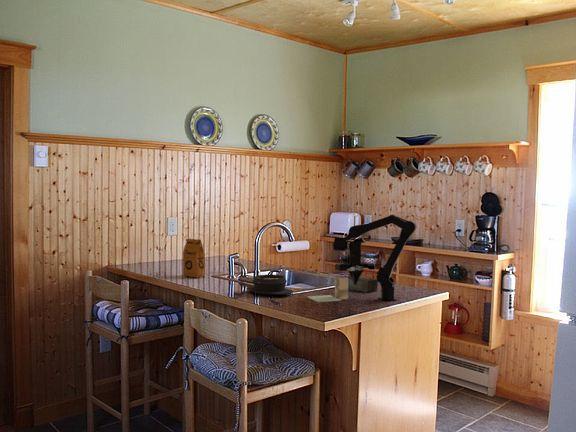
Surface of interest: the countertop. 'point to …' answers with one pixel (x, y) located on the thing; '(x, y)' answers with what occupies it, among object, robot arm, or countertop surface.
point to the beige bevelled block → (341, 287)
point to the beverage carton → (363, 284)
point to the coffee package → (193, 258)
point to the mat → (323, 298)
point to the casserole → (269, 285)
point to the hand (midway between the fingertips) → (354, 284)
